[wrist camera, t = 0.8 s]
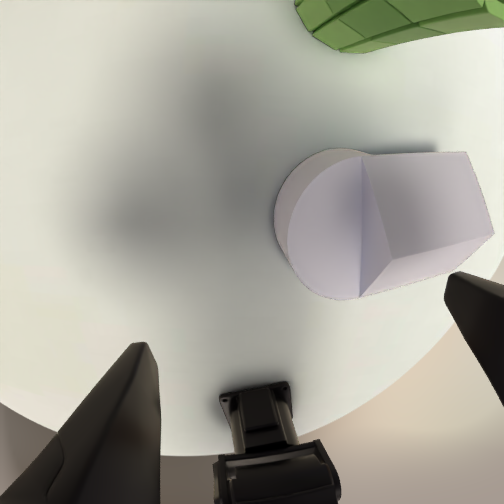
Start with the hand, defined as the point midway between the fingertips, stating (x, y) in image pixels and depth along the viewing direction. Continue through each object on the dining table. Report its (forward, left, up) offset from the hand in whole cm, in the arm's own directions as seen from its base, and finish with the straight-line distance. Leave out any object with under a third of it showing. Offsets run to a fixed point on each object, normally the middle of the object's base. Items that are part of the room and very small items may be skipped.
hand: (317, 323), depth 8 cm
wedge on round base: (-2, -8, -12) cm, 15 cm away
